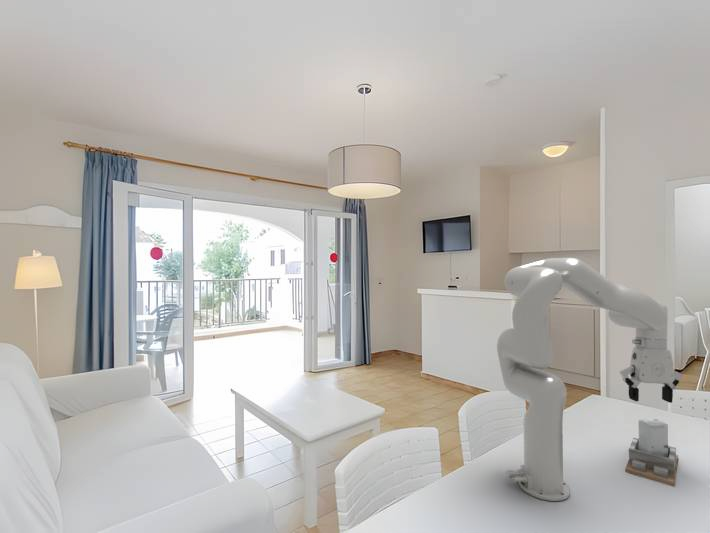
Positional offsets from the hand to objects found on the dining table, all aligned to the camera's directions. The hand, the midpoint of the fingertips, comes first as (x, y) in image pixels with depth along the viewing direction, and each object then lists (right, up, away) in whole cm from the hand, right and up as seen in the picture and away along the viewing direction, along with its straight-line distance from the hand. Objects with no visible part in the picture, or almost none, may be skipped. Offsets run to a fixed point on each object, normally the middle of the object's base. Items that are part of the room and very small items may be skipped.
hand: (650, 400), depth 114 cm
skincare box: (+1, -19, 0) cm, 19 cm away
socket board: (+1, -20, 0) cm, 20 cm away
